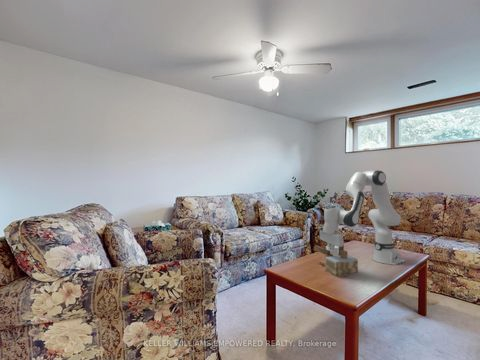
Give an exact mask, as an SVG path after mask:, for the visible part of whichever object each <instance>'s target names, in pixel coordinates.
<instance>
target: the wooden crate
mask: <svg viewBox="0 0 480 360" xmlns="http://www.w3.org/2000/svg"><path fill="white" fill-rule="evenodd" d="M332 256H333V255H332V254H330V256H328V255H325V261H324V263H325V267H324V269H325V272H327V273H329V274H331V275H332V276H333V277H338V278H342V277H345V276H346V275H352V274H358V273H359V272H358V271H359V269H358V267H359V260H358V261H352V262H344V261H340V262H338V264H335V263H333V262H331V261H329V260H327V259H326V257H332Z"/></svg>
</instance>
